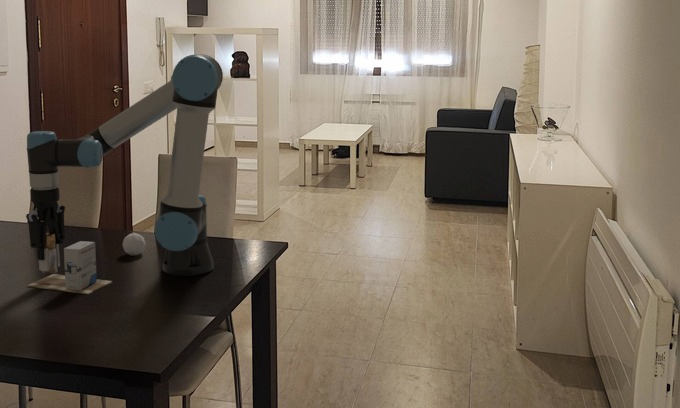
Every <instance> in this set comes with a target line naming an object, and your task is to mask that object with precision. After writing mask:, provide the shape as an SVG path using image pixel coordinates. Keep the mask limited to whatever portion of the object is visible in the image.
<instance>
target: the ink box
mask: <svg viewBox="0 0 680 408" xmlns="http://www.w3.org/2000/svg"><path fill="white" fill-rule="evenodd" d="M63 258H64V259H63V260H64V275H65V286H66V288H67V289H74V290H82V289H83V288H85V287H87V286H89V285H90V284H92V283H94V282H96V281H97V260H96V259H97V257H96V242H95V241H85V240H83V241H82V240H80V241H78V242H75V243H73V244H70V245H68V246H67V247H64V248H63Z"/></svg>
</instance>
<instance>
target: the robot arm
mask: <svg viewBox="0 0 680 408" xmlns="http://www.w3.org/2000/svg"><path fill="white" fill-rule="evenodd" d="M223 77H224V72H223V69H222V66H221V65H220V63H219V62H218V61H217V60H216V59H215V58H213V57H212V56H211V55H207V54H190V55H187V56H184V57H183V58H181V59H180V60H179V61H178V62H177V64H176V65H175V66H174V69H173V71H172V75H171V77H170V80H169V81H168V82H166V83H164V84H163V85H161V86H160V87H158V88H157V89H155V90H154V91H152V92H151V93H149V94H147V95H146V96H145V97H143V98H142V99H140V100H138V101H137V102H135V103H134V104H132V105H130V106H129V107H128V108H126V109H124V110H123V111H121V112H120V113H118V114H117V115H115V116H114V117H112V118H111V119H109V120H107V121H106V122H105V123H102V124H101V125H100V126H98V127H97V128H95V129H93V130H92V131H90V132H89V133H87V134H86V135H83V136H81V137H79V138H76V139H63V138H62V139H60V138H57V135H56V133H55V132H54V131H52V130H51V131H49V130H38V131H32V132H29V133H28V134H26V135H27V136H26V153H27V165H28V174H29V175H28V176H29V187H30V190H29V192H30V193H29V194H30V196H29V197H30V201H31V203H32V204H33V209H32V212H31V213H27V214H26V215H25V217H26V221H27V223H28V234H29V243H30V244H29V245H30V248H32V249H36V255H37V256H36V257H37V260H38V268H39V269H38V270H39V271H41V272H42V271H49V260H48V248H45V246H46V233H55V242H56V257H57V268H59V267H61V261H60V259H61V258H60V253H61V246H60V245H62V244H63V243H64V240H65V238H66V235H65V234H66V233H65V210H66V206H65V205H59V203H58V202H59V201H60V188H59V187H58V186H59V185H60V181H59V168H58V167H74V168H93V167H95V168H96V167H100V166H101V164H102V161H103V158H104V156H106V155H107V154H108V153H110V152H111V151H113V150H114V149H115V148H117V147H118V146H120V145H122V144H124V143H125V142H127V141H128V140H130V139H131V138H133V137H134V136H136V135H137V134H139V133H141V132H142V131H144V130H145V129H147V128H148V127H150V126H152V125H153V124H155V123H156V122H158V121H160V120H161V119H162V118H164V117H166V116H167V115H169V114H171V113H172V112H173V111H175V110H176V116H175V124H174V126H175V127H174V133H173V135H174V136H173V142H172V150H171V159H170V160H171V161H170V167H169V177H168V182H167V183H168V185H167V193H166V194H165V195H163V196H162V197H161V199H160V205H159V212H158V218H157V220H156V222H155V224H154V236H155V239H156V240H157V242H158V243H159V244H160V245H161V246H162V248H164V249H166V252H165V255H164V259H163V261H162V270H163V272H164V273H165V274H168V275H171V276H178V277H187V276H188V277H191V276H192V277H193V276H199V275H203V274H207V273H209V272H211V271H213V270H214V268H215V266H214V259H213V256H212V254H211V251H210V248H209V245H208V227H207V226H208V224H207V223H208V222H207V206H208V204H207V201H206V200H207V199H206V197H205V196H204V195H202V194H200V185H201V180H202V179H201V178H202V172H203V171H202V170H203V165H204V164H203V162H204V157H205V155H204V154H205V149H206V148H205V147H206V140H207V139H206V138H207V131H208V124H209V118H210V117H209V115H210V113H212V112H213V111H214V110H215V109H216V106H217V97H218V91H219V89H220V87H221V85H222V84H223V79H224V78H223ZM47 230H48V232H47ZM212 269H213V270H212Z"/></svg>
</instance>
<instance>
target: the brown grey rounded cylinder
mask: <svg viewBox="0 0 680 408" xmlns="http://www.w3.org/2000/svg"><path fill="white" fill-rule="evenodd" d="M45 248H48V260H49V271H41V272H42V274H44V275H52V274H57V272H58V267H57V257H56V242H55V233H49V232H46V246H45Z"/></svg>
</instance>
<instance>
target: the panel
mask: <svg viewBox="0 0 680 408" xmlns="http://www.w3.org/2000/svg"><path fill="white" fill-rule="evenodd" d="M112 283H113V281H112V280H106V279H97V281H96V282H94V283H92V284H90V285H89V286H87V287H85V288H83V289H82V290H74V289H67V288H66V286H65V274H58V273H53V274H49V275H48V276H45V277H43V278H41V279H39V280H36V281H34V282H32V283H31V282H30V283H29V284H27V288H28V287H30V288H38V289H45V290H50V291H51V290H52V291H59V292H66V293H67V292H68V293H75V294H82V295H90V294H92V293H94V292H96V291H98V290H100V289H103V288H104V287H106V286H108V285H110V284H112Z"/></svg>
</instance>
